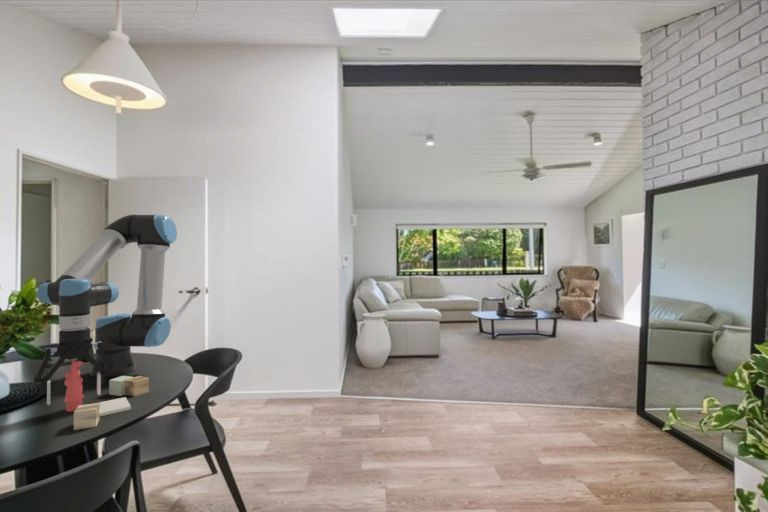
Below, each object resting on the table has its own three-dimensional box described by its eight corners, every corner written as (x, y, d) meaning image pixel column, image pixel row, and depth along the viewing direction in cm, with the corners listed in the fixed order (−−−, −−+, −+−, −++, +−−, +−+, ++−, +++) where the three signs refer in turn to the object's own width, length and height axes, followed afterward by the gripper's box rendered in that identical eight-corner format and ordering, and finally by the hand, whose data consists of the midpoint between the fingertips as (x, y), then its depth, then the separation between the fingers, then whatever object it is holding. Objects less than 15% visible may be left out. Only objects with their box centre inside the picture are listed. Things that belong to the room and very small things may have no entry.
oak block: (125, 394, 131) (125, 380, 131) (139, 389, 135) (139, 375, 135) (134, 396, 129) (134, 382, 128) (148, 392, 133) (148, 377, 133)
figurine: (80, 404, 122) (80, 357, 121) (88, 407, 119) (88, 359, 119) (60, 410, 117) (60, 361, 117) (68, 413, 115) (68, 364, 115)
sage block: (109, 394, 130) (109, 380, 130) (122, 389, 135) (122, 375, 135) (120, 396, 129) (120, 381, 129) (133, 391, 134) (133, 376, 134)
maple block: (78, 423, 109) (78, 405, 109) (99, 419, 111) (100, 402, 111) (73, 430, 104) (73, 412, 104) (96, 426, 107) (96, 409, 106)
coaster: (87, 408, 119) (87, 404, 119) (125, 400, 125) (125, 397, 125) (90, 418, 111) (90, 415, 111) (130, 409, 118) (130, 406, 118)
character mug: (68, 364, 164) (68, 334, 164) (72, 360, 170) (72, 331, 170) (99, 360, 169) (99, 331, 169) (102, 356, 176) (102, 328, 176)
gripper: (21, 335, 107) (21, 412, 107) (122, 325, 123) (122, 392, 123) (22, 331, 113) (22, 404, 113) (119, 322, 129) (118, 386, 129)
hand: (74, 398), depth 118 cm, fingers open, 11 cm apart
